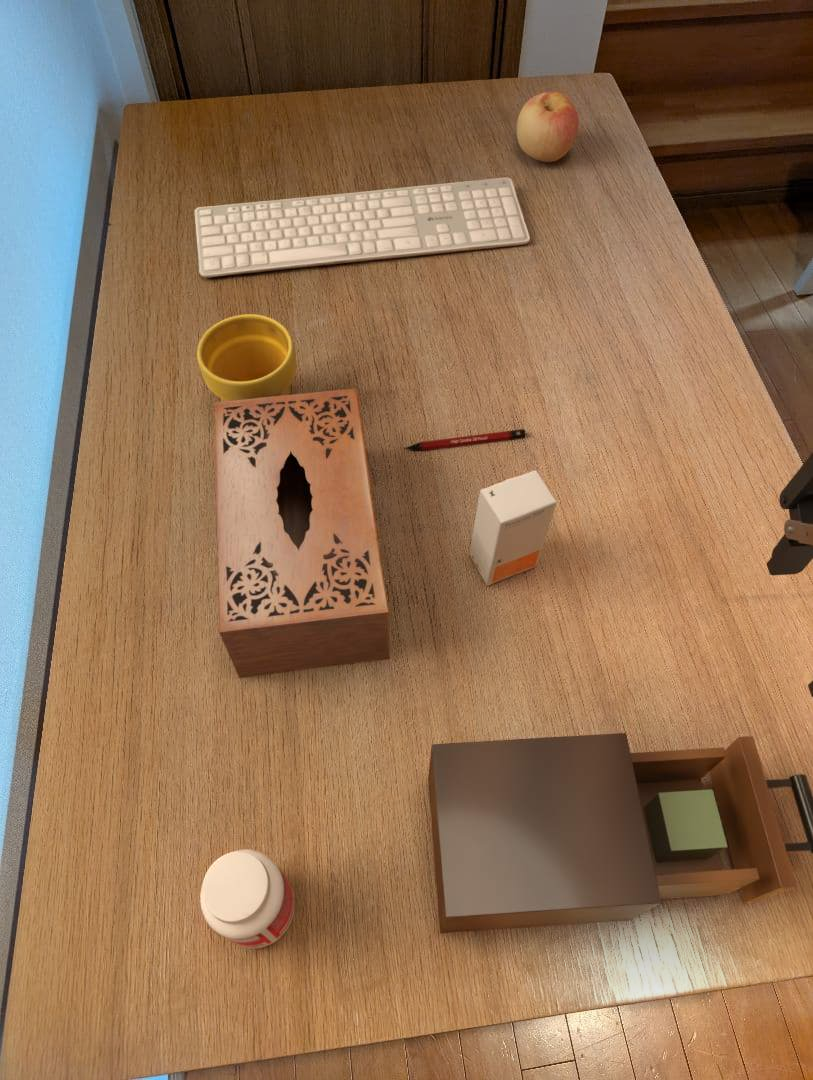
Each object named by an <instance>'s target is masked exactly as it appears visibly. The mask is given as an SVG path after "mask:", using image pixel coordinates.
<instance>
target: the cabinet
mask: <svg viewBox="0 0 813 1080" xmlns="http://www.w3.org/2000/svg"><path fill="white" fill-rule="evenodd" d="M629 745H630V744H629V740H628V735H627V733H626V732H617V733H600V734H584V735H568V736H567V735H566V736H551V737H549V736H547V737H536V738H535V737H534V738H517V739H516V738H515V739H498V740H481V741H466V742H464V741H463V742H450V743H449V742H447V743H433V744H431V749H430V758H429V767H428V774H427V775H428V777H427V780H428V781H427V782H428V794H429V806H430V809H429V810H430V819H431V820H430V821H431V834H432V835H431V836H432V847H433V861H434V874H435V888H436V900H437V901H436V902H437V911H438V913H437V914H438V926H439V934H451V933H467V932H479V931H481V932H482V931H496V930H508V929H509V930H510V929H511V930H512V929H524V928H541V927H553V926H554V927H555V926H567V925H583V924H597V923H599V924H601V923H611V922H612V923H613V922H626V921H627V922H628V921H631V920H633V919H635V918H636V917H638V916H641V915H642V914H644V913H645V912H647V911H650V910H651V909H653V908H655V907H657V906H659V905H661V904H662V899H661V898H660V893H659V888H658V883H657V879H656V874H655V869H654V864H653V859H652V855H651V850H650V845H649V840H648V835H647V831H646V826H645V821H644V816H643V811H642V807H641V802H640V797H639V792H638V787H637V783H636V778H635V773H634V768H633V764H632V759H631V754H630V753H631V750H630V749H631V748H630V746H629Z"/></svg>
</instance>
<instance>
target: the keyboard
mask: <svg viewBox="0 0 813 1080" xmlns="http://www.w3.org/2000/svg"><path fill="white" fill-rule="evenodd" d="M194 221H195V223H194V224H195V234H196V235H195V237H196V243H197V244H196V247H197V259H198V272H199V273H198V274H199V276H201V277H202V278H204V279H205V278H214V277H215V278H217V277H225V276H233V275H243V274H244V275H245V274H252V273H262V272H271V271H279V270H290V269H299V268H300V269H301V268H308V267H318V266H327V265H336V264H337V265H338V264H346V263H347V264H348V263H356V262H366V261H376V260H387V259H396V258H407V257H415V256H417V257H418V256H426V255H435V254H446V253H454V252H455V253H456V252H464V251H466V252H467V251H474V250H475V251H476V250H485V249H486V250H487V249H493V248H494V249H495V248H503V247H513V246H523V245H524V246H525V245H527V244H529V242H530V240H531V235H530V233H529V230H528V227H527V224H526V221H525V218H524V214H523V211H522V208H521V205H520V202H519V199H518V195H517V192H516V188H515V184H514V181H513V180H512V178H510V177H497V178H489V179H479V180H469V181H468V180H467V181H457V182H449V183H437V184H427V185H426V184H425V185H416V186H407V187H399V188H398V187H396V188H385V189H377V190H369V191H368V190H367V191H356V192H347V193H336V194H327V195H315V196H305V197H295V198H283V199H274V200H263V201H262V200H261V201H253V202H241V203H231V204H221V205H219V204H218V205H210V206H199V207H196V208H195V209H194Z"/></svg>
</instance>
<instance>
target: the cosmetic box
mask: <svg viewBox="0 0 813 1080" xmlns="http://www.w3.org/2000/svg"><path fill="white" fill-rule="evenodd" d="M557 504H558V503H557V500H556V498H555V496H554V495H553V494H552V492H551V490H550V489H549V487H548V486H547V484H546V483H545V481H544V479H543V478H542V475H540V473H539V471H538V470H532V471H528V472H526V473H523V474H520V475H518V476H513V477H510V478H506V479H504V480H502V481H501V482H498V483H495V484H493V485H490V486H487V487H484V488H481V489H480V490H479V494H478V501H477V507H476V512H475V518H474V523H473V531H472V536H471V541H470V542H471V543H470V547H469V558H470V559H471V561H472V562H473V564H474V566H475V567H476V569H477V571H478V573H479V575H480V577H481V578H482V581H483V582H484V584H485V585H486V586H487V587H488V586H491V585H493V584H495V583H497V582H500V581H503V580H505V579H509V578H510V577H512V576H515V575H517V574H521V573H524V572H526V571H529V570H532V569H534V568H536V567H537V566H538V564H539V560H540V557H541V554H542V550H543V548H544V544H545V541H546V538H547V535H548V532H549V529H550V525H551V522H552V519H553V516H554V513H555V511H556V506H557Z"/></svg>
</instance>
